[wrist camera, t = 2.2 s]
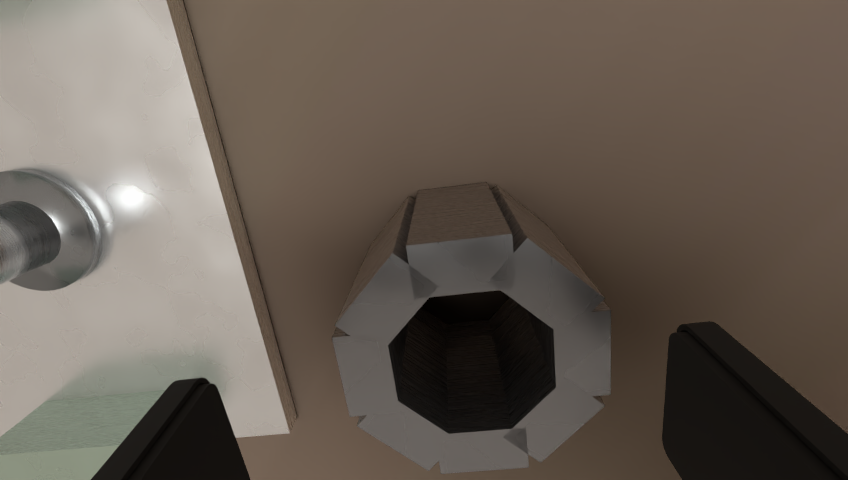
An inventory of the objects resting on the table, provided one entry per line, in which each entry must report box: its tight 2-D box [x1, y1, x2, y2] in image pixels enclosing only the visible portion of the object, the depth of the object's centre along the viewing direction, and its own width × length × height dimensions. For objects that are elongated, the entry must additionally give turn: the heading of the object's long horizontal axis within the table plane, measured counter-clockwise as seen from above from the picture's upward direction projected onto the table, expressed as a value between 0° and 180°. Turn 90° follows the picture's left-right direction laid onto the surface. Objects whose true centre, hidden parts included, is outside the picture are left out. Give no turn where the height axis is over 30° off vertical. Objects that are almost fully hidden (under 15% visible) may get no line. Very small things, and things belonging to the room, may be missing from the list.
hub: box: [332, 182, 611, 474], centre depth 14 cm, size 7×7×6 cm
